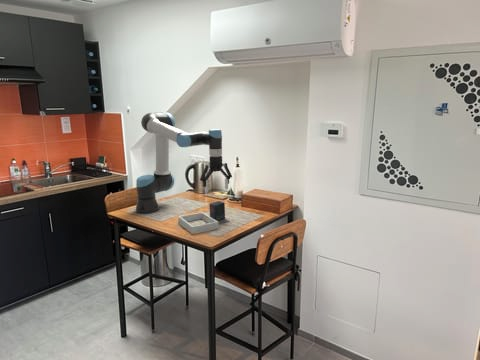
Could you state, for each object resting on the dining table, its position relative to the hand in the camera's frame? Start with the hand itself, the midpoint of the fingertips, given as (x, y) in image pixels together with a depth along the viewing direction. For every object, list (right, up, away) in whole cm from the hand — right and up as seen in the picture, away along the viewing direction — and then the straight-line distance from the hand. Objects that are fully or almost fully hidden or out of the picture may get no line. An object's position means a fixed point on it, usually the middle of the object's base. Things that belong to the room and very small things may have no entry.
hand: (216, 190), depth 208 cm
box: (0, -18, +4) cm, 18 cm away
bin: (-11, -20, -5) cm, 23 cm away
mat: (0, -18, +4) cm, 19 cm away
